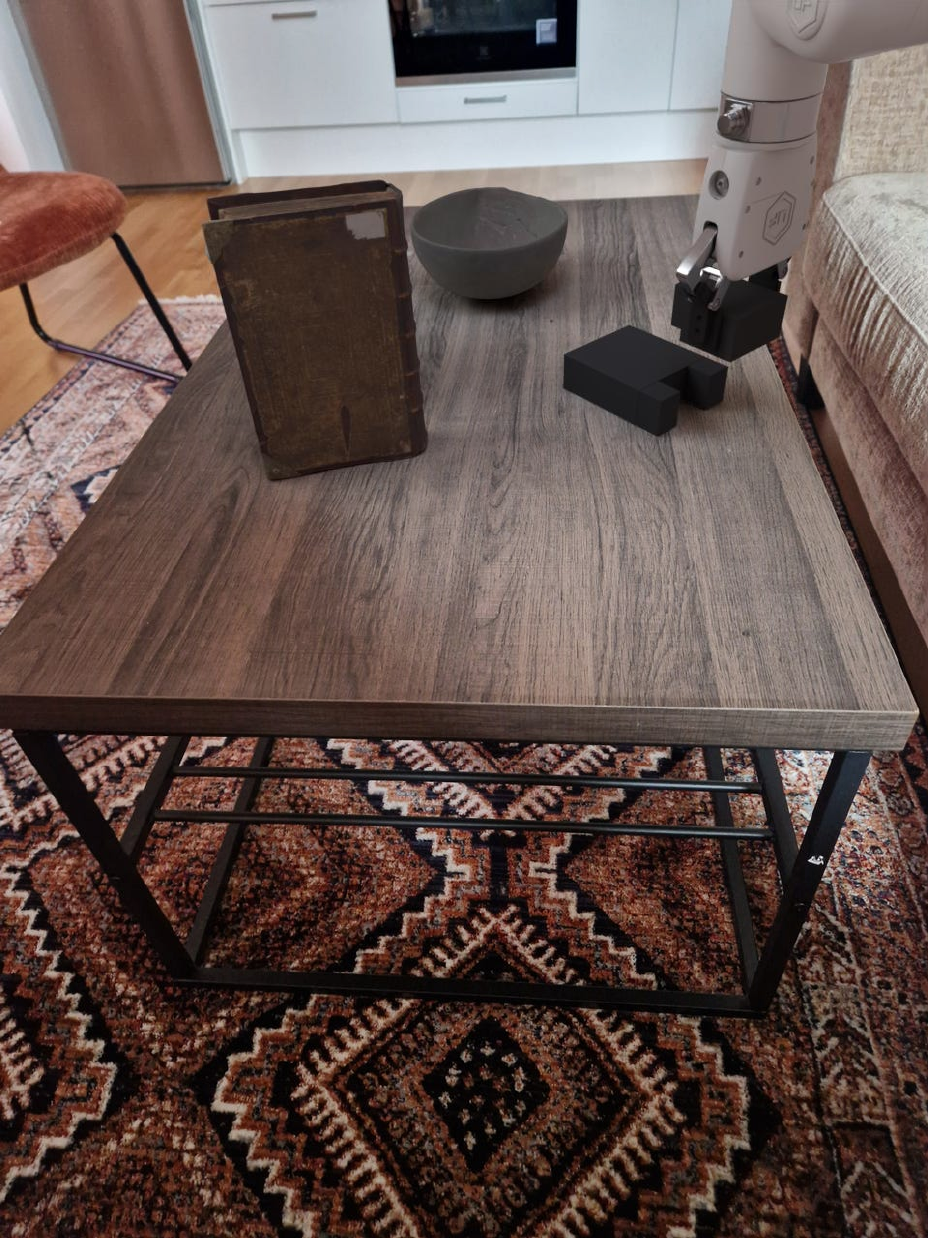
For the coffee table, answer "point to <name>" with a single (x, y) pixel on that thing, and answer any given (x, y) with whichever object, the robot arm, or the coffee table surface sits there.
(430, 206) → the bowl
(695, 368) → the notch pad
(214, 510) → the coffee table surface
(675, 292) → the pad
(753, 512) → the coffee table surface
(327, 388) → the book
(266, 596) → the coffee table surface
